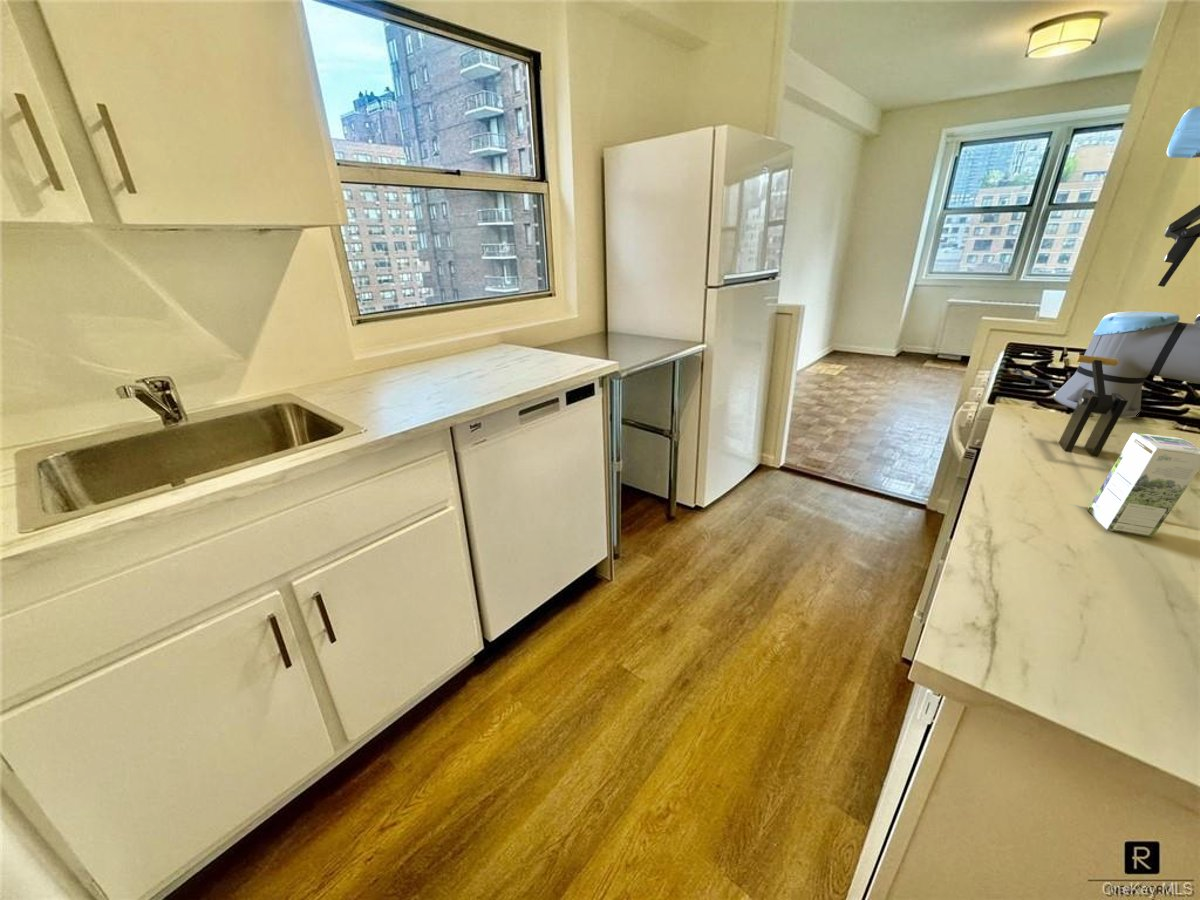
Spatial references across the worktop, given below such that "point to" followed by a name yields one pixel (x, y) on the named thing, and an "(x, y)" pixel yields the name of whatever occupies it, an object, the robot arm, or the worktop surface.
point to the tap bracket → (1101, 427)
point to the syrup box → (1145, 483)
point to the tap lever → (1099, 381)
